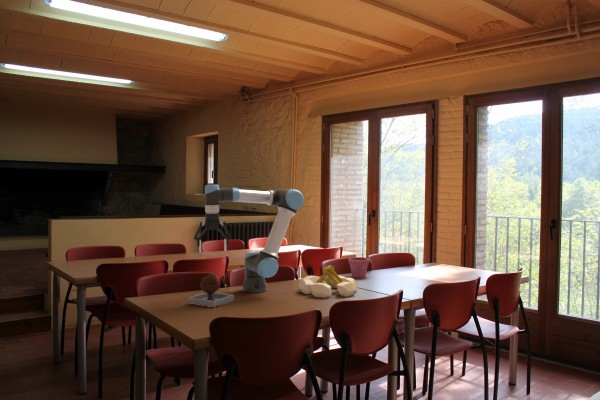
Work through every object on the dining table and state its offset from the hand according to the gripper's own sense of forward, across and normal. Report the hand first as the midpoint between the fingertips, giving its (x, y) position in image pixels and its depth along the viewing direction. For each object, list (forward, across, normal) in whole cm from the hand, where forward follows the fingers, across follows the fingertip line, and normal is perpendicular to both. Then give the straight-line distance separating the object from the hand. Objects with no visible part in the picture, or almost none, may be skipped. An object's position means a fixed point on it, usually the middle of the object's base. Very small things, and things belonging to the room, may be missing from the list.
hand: (212, 251), depth 270 cm
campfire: (+29, +69, +4) cm, 75 cm away
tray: (+27, -2, -5) cm, 27 cm away
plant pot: (+29, +106, +43) cm, 119 cm away
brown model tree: (+26, -3, -5) cm, 27 cm away
